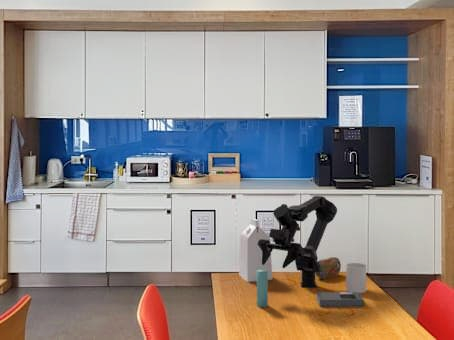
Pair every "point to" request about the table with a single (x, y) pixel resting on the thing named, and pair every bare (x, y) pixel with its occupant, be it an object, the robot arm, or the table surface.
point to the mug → (356, 277)
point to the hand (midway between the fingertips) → (272, 266)
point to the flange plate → (340, 299)
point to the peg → (262, 288)
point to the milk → (252, 253)
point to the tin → (329, 268)
